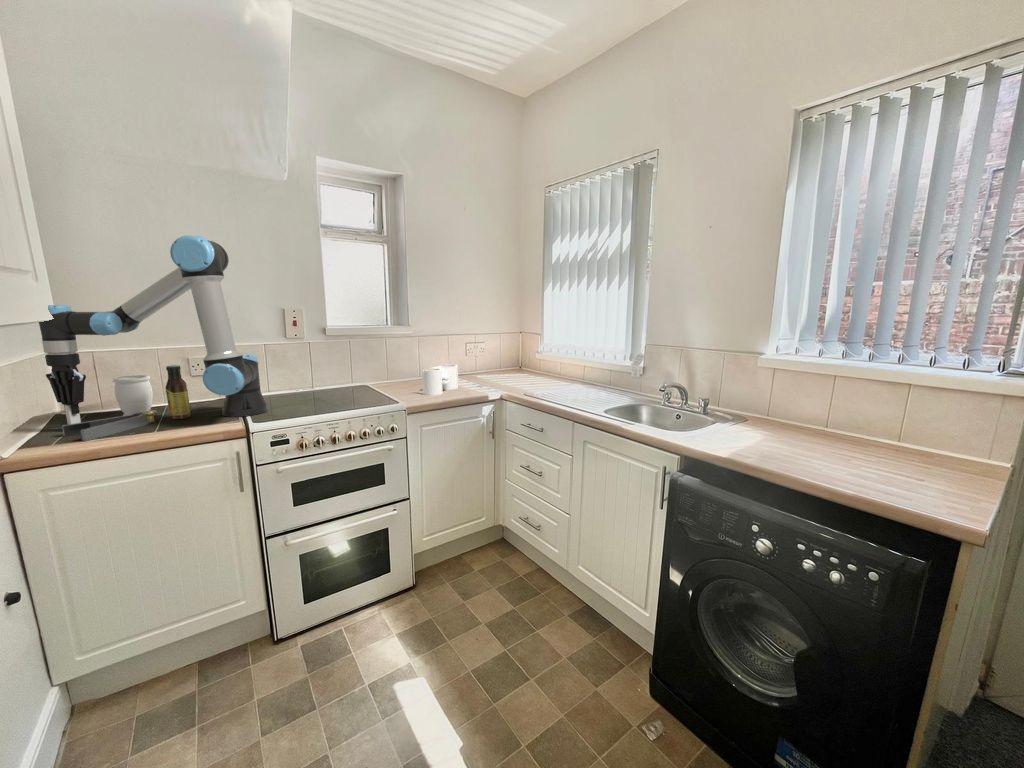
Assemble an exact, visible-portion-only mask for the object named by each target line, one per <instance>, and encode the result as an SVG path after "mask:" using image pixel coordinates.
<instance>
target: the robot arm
mask: <svg viewBox="0 0 1024 768" xmlns="http://www.w3.org/2000/svg"><path fill="white" fill-rule="evenodd" d="M169 252H170V258H171V261H173V263H174V264H175V265H176V267H177V268H175V269H174V270H172V271H171V272H169V273H168V274H166V275H165V276H163V277H161V278H160V279H159V280H157V281H155V282H153V284H151V285H150V286H148V287H147V288H145V289H144V290H142V291H141V292H139V293H138V294H136V295H134V296H133V297H131V298H130V299H128V300H127V301H126V302H124V303H123V304H120V306H118V307H116V308H115V309H113V310H111V311H73V310H72V308H71V306H69V305H66V304H65V305H62V304H55V305H54V304H47V305H48V310H49V312H50V314H51V315H52V316H53V318H54V319H52V320H49V321H44V322H38V326H39V329H40V335H41V343H42V347H43V352H44V353H45V355H44V358H45V363H46V366H47V367H51V372H50V373H46V374H45V377H46V378H47V380H48V381H49V384H50V387H51V389H52V392H53V394H54V397H55V399H56V402H57V403H61V404H62V406H63V408H64V413H65V416H66V421H67V422H66V423H67V425H69V424H75V423H81V422H82V420H81V414H80V407H79V404H80V403H83V402H85V381H86V378H87V376H86V374H81V373H79V372H80V371H79V369H78V367H77V366H78V365H80V364H81V359H80V354H79V353H77V352H78V351H79V350H78V344H77V337H76V336H83V335H84V336H102V337H103V336H116V335H118V334H120V333H121V334H122V333H123V334H125V333H130V332H132V331H136V329H138V327H140V323H142V322H143V321H145V320H146V319H148V318H149V317H151V316H153V314H155V313H157V312H158V311H160V310H161V309H163V308H164V307H165V306H168V305H169V304H170V303H172V302H173V301H175V300H176V299H178V298H179V297H180V296H182V295H183V294H185V293H187V292H189V291H191V294H192V298H193V302H194V303H193V304H194V307H195V309H196V310H195V311H196V314H197V318H198V321H199V326H200V330H201V335H202V337H203V343H204V346H205V350H206V355H205V356H204V357H203V364H204V368H205V370H204V372H203V375H202V382H203V384H204V386H205V388H206V389H207V390H208V391H209V392H211V393H213V394H215V395H217V396H225V397H224V403H223V407H222V408H221V411H222V416H223V417H228V418H240V417H248V416H250V417H251V416H255V415H259V414H263V413H265V412H268V404H267V402H266V401H265V398H264V396H263V394H262V391H261V383H260V373H259V371H260V370H259V361H258V357H257V356H256V355H254V354H243V353H242V352H240V351H238V350H237V348H236V344H235V339H234V335H233V331H232V326H231V322H230V318H229V314H228V309H227V305H226V302H225V296H224V293H223V289H222V283H221V282H222V280H224V278H225V274H224V271H225V270H226V269H227V267H228V265H229V255H228V253H227V251H226V250H225V248H224V247H223V246H221V245H220V244H219V243H217V242H215V241H213V240H209V239H206V238H204V237H202V236H199V235H192V234H190V235H189V234H188V235H183V236H180V237H178V238H176V239H175V240H174V242H173V243H172V244H171V246H170V250H169Z"/></svg>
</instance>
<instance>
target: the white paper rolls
mask: <svg viewBox="0 0 1024 768" xmlns="http://www.w3.org/2000/svg"><path fill="white" fill-rule="evenodd" d="M421 375H422V376H421V377H422V395H426V396H440V395H443V390H444V391H445V390H446V391H452V390H457V389H458V388H459V365H458V364H455V363H453V364H452V363H450V364H449V363H444V364H443V366H442V365H436V366H433V367H429V368H428V369H422V371H421Z"/></svg>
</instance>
